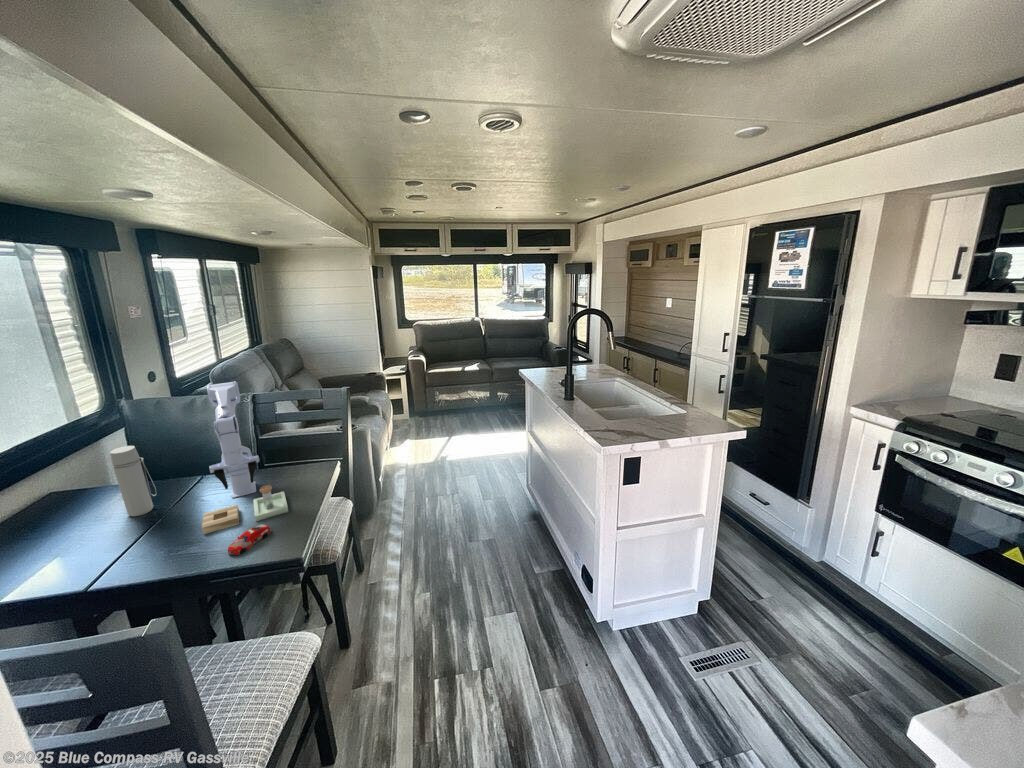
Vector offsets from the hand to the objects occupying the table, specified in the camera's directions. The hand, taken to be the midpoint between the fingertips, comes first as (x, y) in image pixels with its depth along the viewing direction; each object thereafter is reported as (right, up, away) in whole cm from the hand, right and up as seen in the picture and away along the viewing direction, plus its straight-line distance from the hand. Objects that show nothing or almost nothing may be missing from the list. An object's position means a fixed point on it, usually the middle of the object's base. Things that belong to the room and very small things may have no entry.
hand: (239, 484), depth 146 cm
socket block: (-3, -12, -4) cm, 13 cm away
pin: (+9, -9, +3) cm, 13 cm away
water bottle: (-37, -11, +3) cm, 39 cm away
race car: (+14, -15, -15) cm, 26 cm away
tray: (+9, -10, +4) cm, 14 cm away
